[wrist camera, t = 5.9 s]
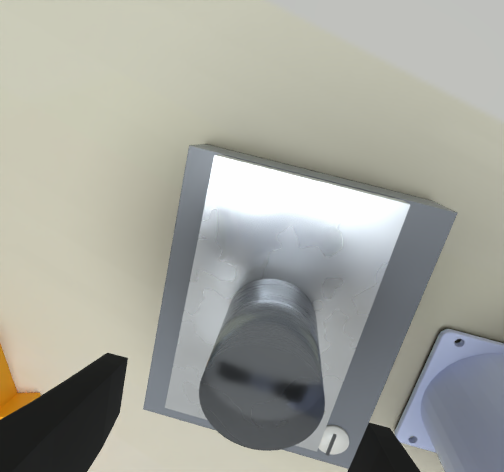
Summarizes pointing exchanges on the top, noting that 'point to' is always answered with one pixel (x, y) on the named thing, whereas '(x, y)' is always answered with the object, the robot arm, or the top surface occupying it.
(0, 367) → the pipe clamp
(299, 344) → the cylinder
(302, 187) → the pan
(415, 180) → the top surface
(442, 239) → the base
